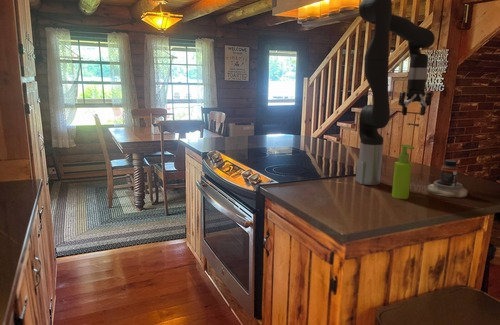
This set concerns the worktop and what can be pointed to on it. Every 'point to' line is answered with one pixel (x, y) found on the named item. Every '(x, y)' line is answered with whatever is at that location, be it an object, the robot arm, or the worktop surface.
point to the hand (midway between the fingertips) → (413, 115)
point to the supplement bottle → (449, 173)
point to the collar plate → (448, 194)
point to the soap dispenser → (402, 175)
